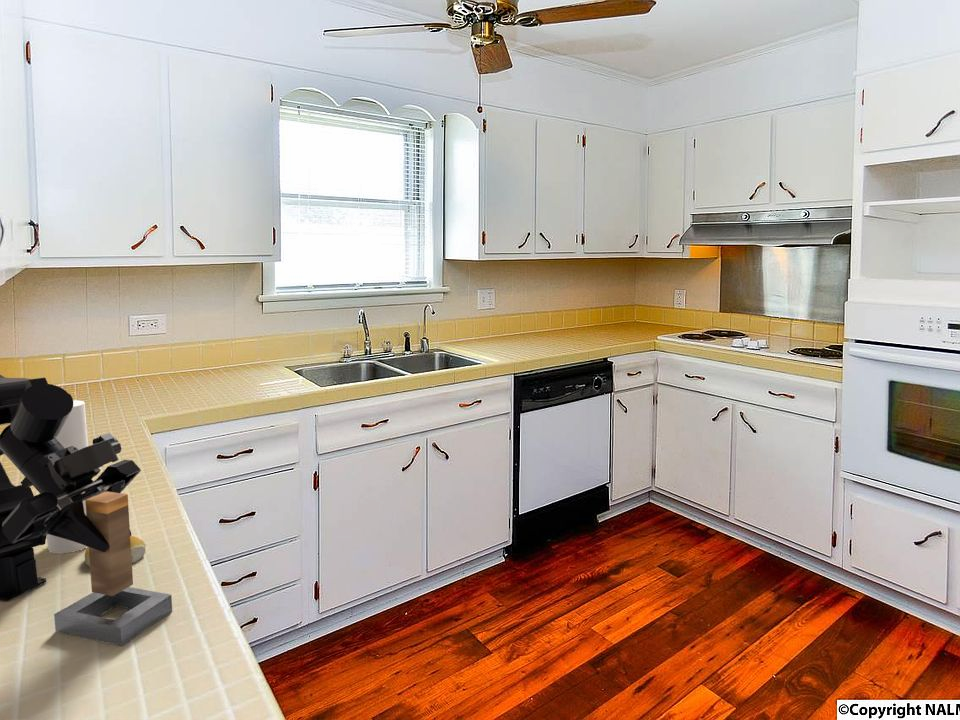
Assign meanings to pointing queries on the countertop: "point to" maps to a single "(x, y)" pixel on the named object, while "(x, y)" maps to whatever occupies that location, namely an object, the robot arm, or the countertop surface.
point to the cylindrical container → (77, 437)
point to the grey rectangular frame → (121, 630)
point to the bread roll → (136, 550)
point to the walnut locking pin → (110, 543)
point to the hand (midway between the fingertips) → (118, 543)
